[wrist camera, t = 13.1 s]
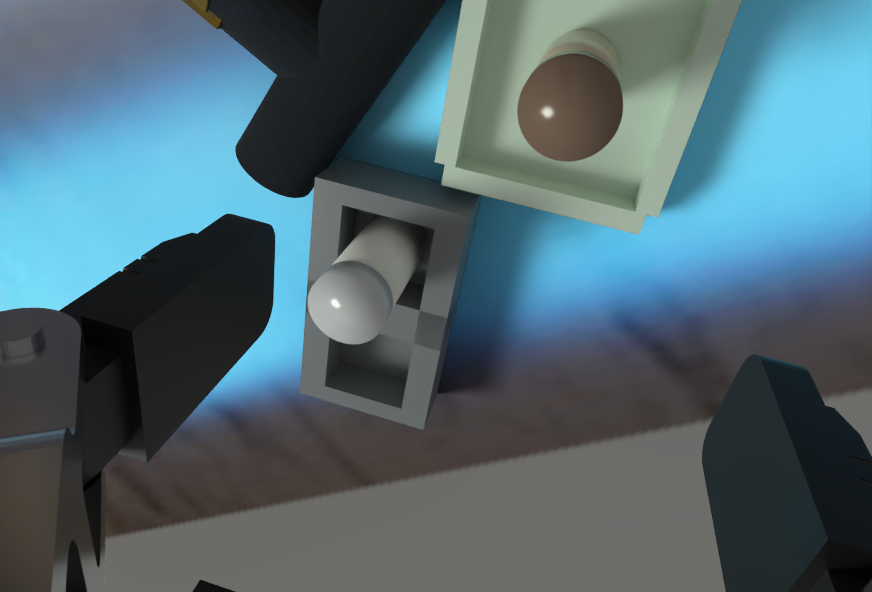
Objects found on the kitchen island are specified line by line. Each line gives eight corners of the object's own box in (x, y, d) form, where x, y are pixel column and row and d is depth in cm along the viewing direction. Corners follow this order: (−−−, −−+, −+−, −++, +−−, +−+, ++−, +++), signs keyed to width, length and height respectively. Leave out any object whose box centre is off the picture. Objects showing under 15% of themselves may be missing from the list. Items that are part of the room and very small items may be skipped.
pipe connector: (119, 74, 33) (240, -213, 26) (175, 58, 38) (293, -190, 30) (290, 210, 35) (451, -20, 28) (324, 179, 40) (471, -26, 32)
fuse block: (340, 156, 38) (314, 177, 35) (481, 192, 37) (469, 216, 34) (322, 360, 46) (299, 392, 43) (437, 394, 45) (423, 430, 42)
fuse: (369, 201, 38) (309, 264, 30) (433, 217, 38) (388, 286, 30) (362, 259, 40) (305, 332, 33) (423, 275, 40) (379, 353, 32)
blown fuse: (550, 20, 31) (531, 45, 24) (631, 37, 31) (637, 69, 23) (531, 101, 33) (507, 148, 26) (606, 118, 33) (604, 172, 25)
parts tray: (492, -116, 30) (483, -121, 27) (756, -66, 28) (768, -67, 26) (440, 168, 37) (430, 182, 35) (647, 220, 36) (650, 237, 33)
